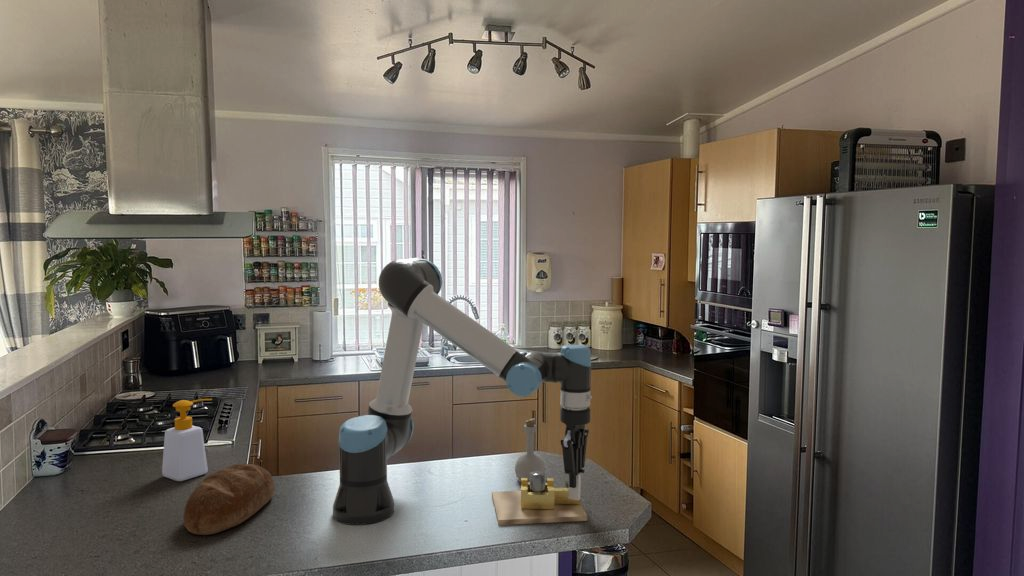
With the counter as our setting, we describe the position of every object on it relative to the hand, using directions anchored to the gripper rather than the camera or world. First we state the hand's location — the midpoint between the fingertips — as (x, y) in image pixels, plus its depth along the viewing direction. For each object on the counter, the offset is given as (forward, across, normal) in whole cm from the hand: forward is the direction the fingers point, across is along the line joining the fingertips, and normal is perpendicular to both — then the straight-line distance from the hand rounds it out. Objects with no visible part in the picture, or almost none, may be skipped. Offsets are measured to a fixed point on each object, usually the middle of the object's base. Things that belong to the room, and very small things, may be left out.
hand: (574, 498), depth 166 cm
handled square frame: (+2, -1, +6) cm, 7 cm away
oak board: (+3, -2, +9) cm, 10 cm away
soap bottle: (+3, -29, +109) cm, 113 cm away
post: (+3, -2, +9) cm, 10 cm away
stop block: (+2, +5, +3) cm, 6 cm away
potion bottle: (+3, +15, +20) cm, 25 cm away
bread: (+4, -42, +76) cm, 86 cm away
